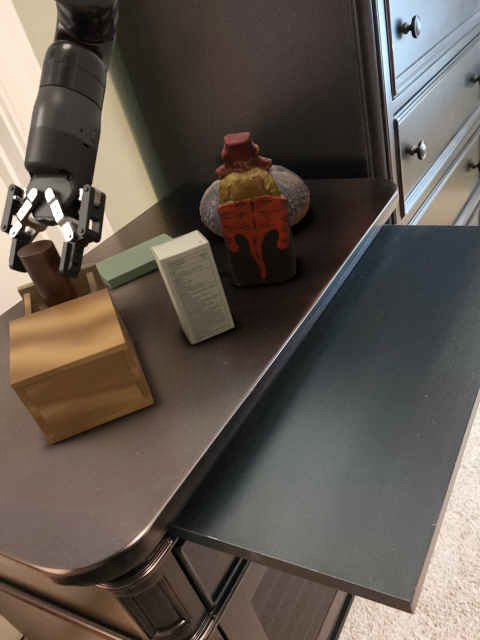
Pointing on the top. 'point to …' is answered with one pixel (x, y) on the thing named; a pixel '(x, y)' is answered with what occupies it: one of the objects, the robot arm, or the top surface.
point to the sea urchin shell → (286, 182)
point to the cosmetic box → (194, 286)
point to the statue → (253, 215)
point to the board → (130, 263)
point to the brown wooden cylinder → (47, 272)
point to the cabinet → (76, 366)
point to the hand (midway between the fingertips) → (42, 273)
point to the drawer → (84, 283)
